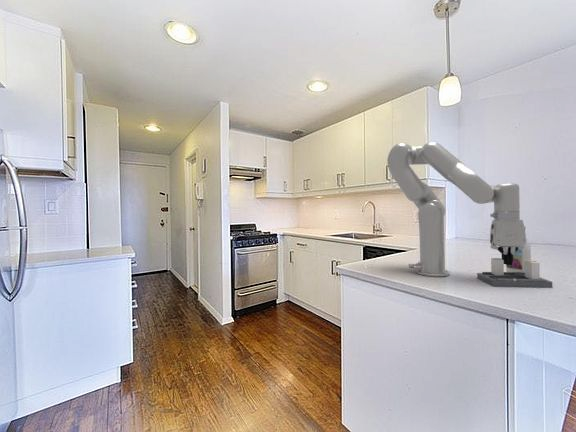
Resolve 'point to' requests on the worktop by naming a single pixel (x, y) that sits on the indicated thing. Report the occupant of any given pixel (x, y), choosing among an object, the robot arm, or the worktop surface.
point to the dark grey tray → (512, 280)
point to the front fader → (532, 269)
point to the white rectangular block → (497, 266)
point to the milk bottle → (520, 259)
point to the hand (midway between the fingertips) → (507, 264)
